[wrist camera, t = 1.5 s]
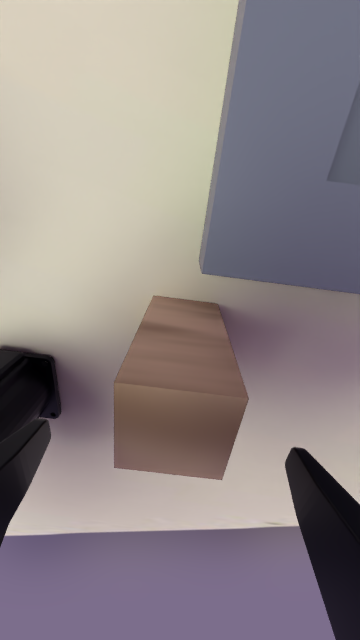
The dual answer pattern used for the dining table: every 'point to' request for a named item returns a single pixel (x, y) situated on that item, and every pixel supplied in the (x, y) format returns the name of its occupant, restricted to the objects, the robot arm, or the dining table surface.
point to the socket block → (289, 148)
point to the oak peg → (178, 393)
